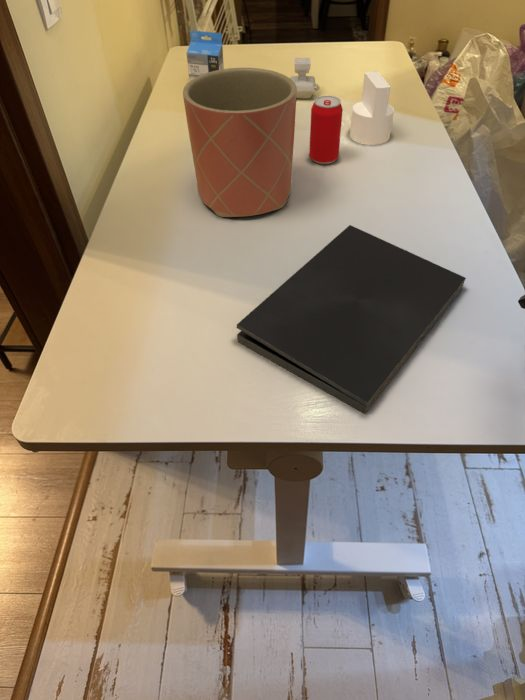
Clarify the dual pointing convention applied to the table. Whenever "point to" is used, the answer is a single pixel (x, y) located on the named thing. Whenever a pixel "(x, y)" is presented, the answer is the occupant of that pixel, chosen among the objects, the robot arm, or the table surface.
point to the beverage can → (325, 129)
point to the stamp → (304, 78)
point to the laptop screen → (353, 311)
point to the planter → (242, 139)
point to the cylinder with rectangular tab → (372, 112)
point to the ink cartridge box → (204, 53)
